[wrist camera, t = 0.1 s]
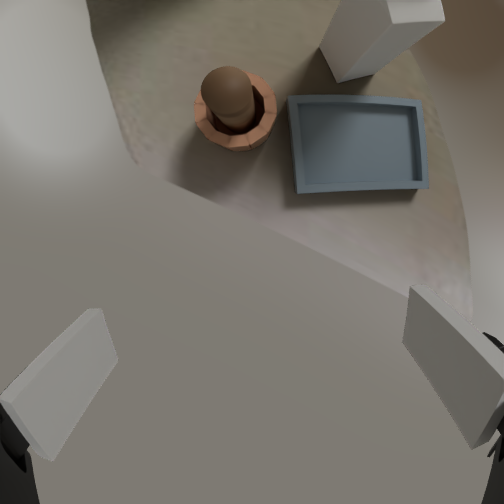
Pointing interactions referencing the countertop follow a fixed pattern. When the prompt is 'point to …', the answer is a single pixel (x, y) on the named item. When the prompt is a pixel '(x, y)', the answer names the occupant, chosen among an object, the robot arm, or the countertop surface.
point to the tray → (357, 143)
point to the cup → (247, 140)
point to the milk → (375, 33)
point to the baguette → (230, 98)
